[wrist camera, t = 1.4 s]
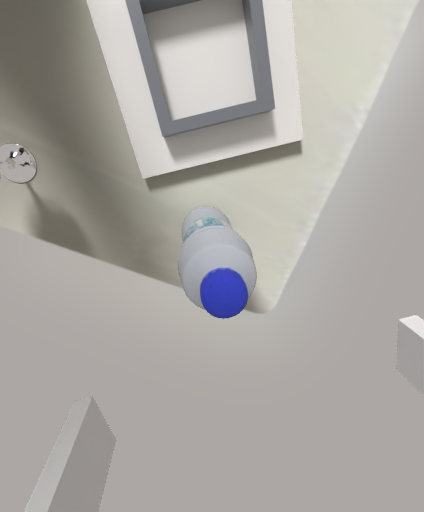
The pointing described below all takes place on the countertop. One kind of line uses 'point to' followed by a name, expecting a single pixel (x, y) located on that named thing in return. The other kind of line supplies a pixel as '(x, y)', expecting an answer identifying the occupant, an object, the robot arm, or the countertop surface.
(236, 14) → the dock
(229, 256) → the bottle
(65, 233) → the countertop surface
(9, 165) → the wineglass
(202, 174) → the countertop surface
